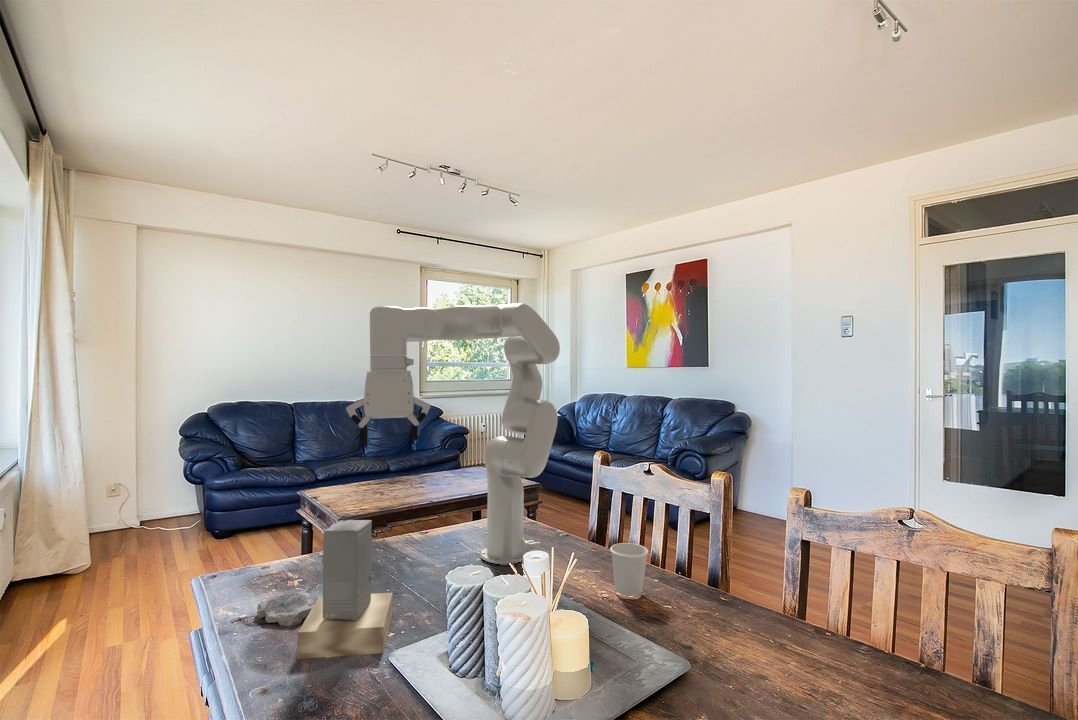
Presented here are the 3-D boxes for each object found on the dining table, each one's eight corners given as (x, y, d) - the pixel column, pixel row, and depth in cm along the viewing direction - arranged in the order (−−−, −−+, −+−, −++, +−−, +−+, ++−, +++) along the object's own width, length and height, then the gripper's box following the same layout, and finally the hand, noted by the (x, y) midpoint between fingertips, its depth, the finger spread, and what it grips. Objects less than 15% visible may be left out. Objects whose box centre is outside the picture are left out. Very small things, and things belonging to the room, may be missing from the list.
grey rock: (244, 605, 101) (287, 577, 110) (246, 624, 102) (289, 594, 111) (286, 624, 97) (327, 592, 106) (288, 642, 98) (329, 610, 107)
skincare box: (357, 621, 92) (361, 531, 92) (316, 620, 92) (321, 530, 92) (372, 600, 100) (376, 518, 101) (335, 599, 100) (339, 516, 101)
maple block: (392, 617, 104) (392, 592, 104) (382, 655, 90) (383, 626, 90) (318, 622, 102) (318, 596, 102) (297, 662, 88) (298, 632, 88)
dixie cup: (632, 584, 121) (633, 540, 121) (655, 598, 113) (656, 552, 113) (602, 590, 117) (602, 545, 117) (623, 605, 110) (624, 557, 110)
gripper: (429, 363, 116) (430, 440, 117) (348, 364, 113) (349, 443, 113) (430, 364, 109) (431, 445, 109) (343, 365, 105) (344, 449, 105)
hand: (389, 444), depth 111 cm, fingers open, 9 cm apart
